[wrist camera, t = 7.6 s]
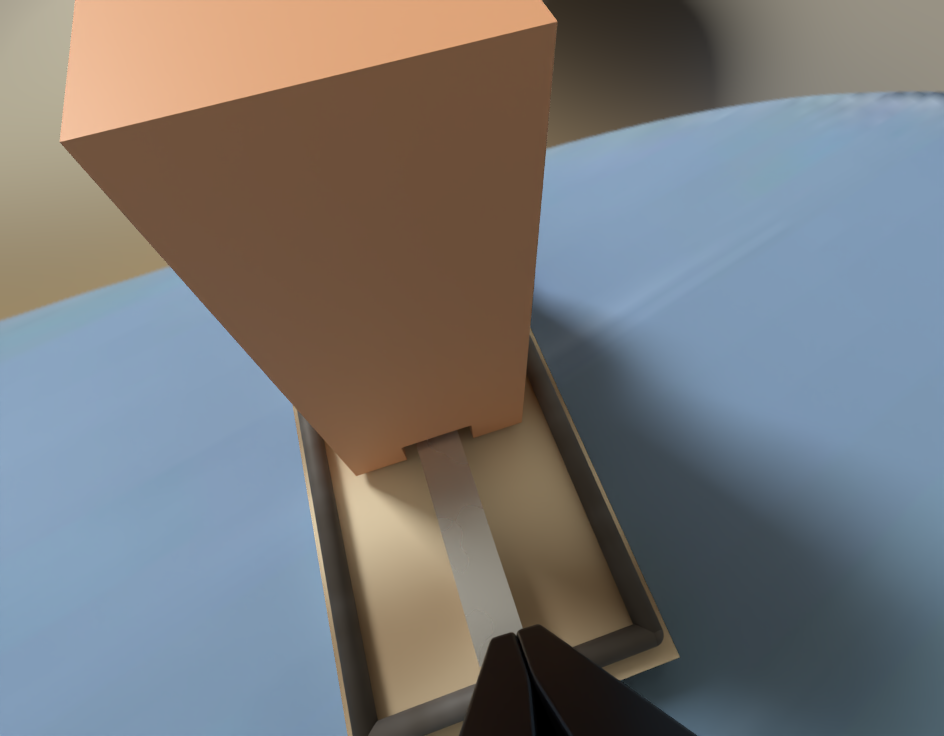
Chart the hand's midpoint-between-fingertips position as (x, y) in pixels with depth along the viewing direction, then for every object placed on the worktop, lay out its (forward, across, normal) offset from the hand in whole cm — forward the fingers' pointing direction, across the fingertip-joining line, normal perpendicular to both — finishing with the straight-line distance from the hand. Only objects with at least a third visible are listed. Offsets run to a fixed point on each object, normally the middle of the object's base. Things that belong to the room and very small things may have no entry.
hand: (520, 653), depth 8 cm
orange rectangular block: (+9, -1, +2) cm, 9 cm away
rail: (+7, 0, 0) cm, 7 cm away
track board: (+9, -1, 0) cm, 9 cm away
